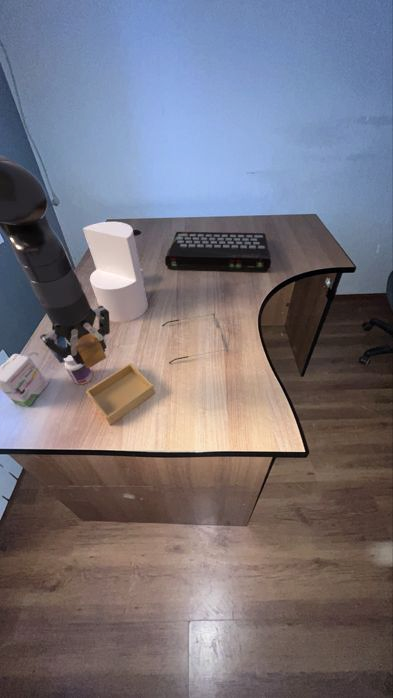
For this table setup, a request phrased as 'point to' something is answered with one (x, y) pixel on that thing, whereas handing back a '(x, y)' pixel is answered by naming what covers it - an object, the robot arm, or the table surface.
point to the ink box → (21, 380)
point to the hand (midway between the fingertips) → (91, 356)
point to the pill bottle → (77, 371)
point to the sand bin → (120, 393)
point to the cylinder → (116, 270)
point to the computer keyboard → (219, 252)
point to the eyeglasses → (216, 326)
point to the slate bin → (62, 343)
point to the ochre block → (90, 350)
